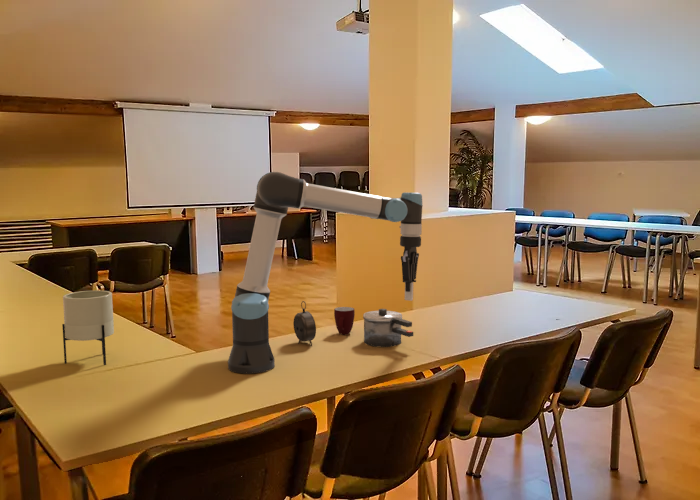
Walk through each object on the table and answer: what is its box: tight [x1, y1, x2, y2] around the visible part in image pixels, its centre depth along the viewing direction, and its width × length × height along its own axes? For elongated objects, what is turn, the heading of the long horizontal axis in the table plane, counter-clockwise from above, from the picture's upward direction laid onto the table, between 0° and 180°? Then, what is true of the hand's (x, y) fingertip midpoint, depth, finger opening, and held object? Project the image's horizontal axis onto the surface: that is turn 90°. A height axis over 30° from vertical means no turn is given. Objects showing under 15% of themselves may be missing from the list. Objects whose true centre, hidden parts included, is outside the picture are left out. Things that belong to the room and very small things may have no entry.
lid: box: [362, 308, 413, 328], centre depth 226 cm, size 15×24×3 cm, turn 33°
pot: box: [363, 318, 414, 348], centre depth 227 cm, size 14×23×9 cm, turn 36°
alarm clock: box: [293, 300, 317, 347], centre depth 228 cm, size 11×5×16 cm, turn 31°
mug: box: [333, 306, 356, 336], centre depth 242 cm, size 10×8×10 cm
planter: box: [62, 289, 115, 366], centre depth 207 cm, size 15×16×23 cm
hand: (408, 299), depth 222 cm, fingers closed
